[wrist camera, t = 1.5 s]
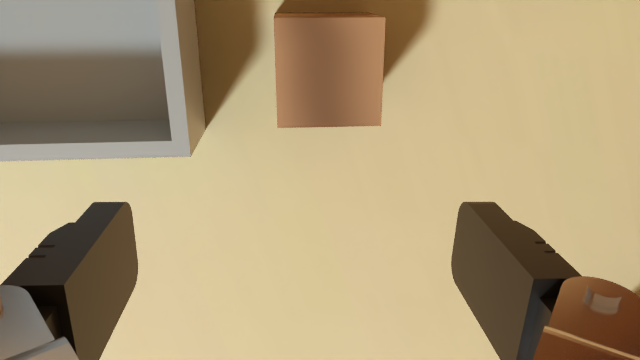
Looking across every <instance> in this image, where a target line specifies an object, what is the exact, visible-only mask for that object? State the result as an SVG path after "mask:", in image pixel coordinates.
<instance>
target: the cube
mask: <svg viewBox="0 0 640 360" xmlns="http://www.w3.org/2000/svg"><path fill="white" fill-rule="evenodd" d="M385 22H386V17H382V16H378V15H375V14H371V13H275V16H274V36H275V66H276V95H277V125H278V128H296V127H344V126H381V112H382V89H383V67H384V45H385Z"/></svg>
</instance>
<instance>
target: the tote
mask: <svg viewBox="0 0 640 360" xmlns="http://www.w3.org/2000/svg"><path fill="white" fill-rule="evenodd" d="M205 130H206V127H205V115H204V104H203V93H202V82H201V70H200V59H199V48H198V37H197V25H196V14H195V3H194V0H0V161H33V160H74V159H114V158H155V157H191V155H192V153H193V151H194V150H195V148H196V146H197V144H198V142H199V141H200V139H201V137H202V135H203V133H204V131H205Z"/></svg>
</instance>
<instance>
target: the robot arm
mask: <svg viewBox="0 0 640 360" xmlns="http://www.w3.org/2000/svg"><path fill="white" fill-rule="evenodd" d="M451 266H452V274H453V279H454V281H455V284H456V285H457V287H458V289H459V290H460V292H461V294H462V295H463V297H464V299H465V301H466V302H467V304H468V306H469V307H470V309H471V311H472V312H473V314H474V316H475V317H476V319H477V321H478V322H479V324H480V326H481V327H482V329H483V331H484V333H485V334H486V336H487V338H488V339H489V341H490V343H491V344H492V346H493V348H494V349H495V351H496V353H497V354H498V356H499V358H500V359H501V360H640V298H639V297H638V296H637V295H636V294H634V293H633V292H632V291H630V290H628V289H627V288H625V287H623V286H621V285H618V284H616V283H613V282H610V281H607V280H604V279H600V278H594V277H586V276H581V275H580V274H579V273H578V272H577V271H576V270H575V269H574V268H573V267H572V266H571V265H570V264H569V263H568V262H567V261H566V260H564V259H563V258H562V257H561V256H560V255H559V254H558V253H555V250H554V249H553V248H552V247H551V246H550V245H549V244H546V241H545V240H543V239H542V238H541V237H540V236H539V235H538V234H537V233H536V232H535V231H534V230H532V229H530V228H528V227H526V226H525V225H523V224H521V223H519V222H517V221H513V220H512V219H511V218H510V217H509V216H508V215H507V214H506V213H505V212H504V211H503V210H502V209H501V208H500V207H499V206H498V205H497V204H496V203H495V202H463V203H462V204H461V206H460V208H459V212H458V218H457V225H456V232H455V239H454V246H453V253H452V262H451ZM137 274H138V259H137V251H136V242H135V234H134V226H133V217H132V211H131V207H130V205H129V203H127V202H94V203H92V204H91V206H90V207H89V208H88V209H87V210H86V211H85V212H84V213H83V215H82V216H81V217H80V218H79V219H78V220H77V221H76V223H68V224H66V225H64V226H62V227H60V228H58V229H57V230H55V231H53V232H51V233H50V234H49V235H48V236H47V237H46V238H45V239H44V240H43V241H42V242H41V243H40V244H39V245H38V248H35V249H34V250H33V251H32V252H31V254H30V255H29V258H26V259H25V260H24V261H23V262H22V263H21V264H20V265H19V266H18V267H17V268H16V269H15V270H14V271H13V272H12V274H11V275H10V276H9V277H8V278H7V279H6V280H5V281H4V282H3V283H2V284H1V285H0V360H99V359H100V357H101V355H102V353H103V351H104V349H105V347H106V345H107V342H108V340H109V338H110V336H111V334H112V332H113V330H114V328H115V326H116V324H117V322H118V320H119V318H120V316H121V314H122V312H123V310H124V308H125V306H126V304H127V302H128V300H129V298H130V296H131V294H132V292H133V290H134V287H135V285H136V281H137Z"/></svg>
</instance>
